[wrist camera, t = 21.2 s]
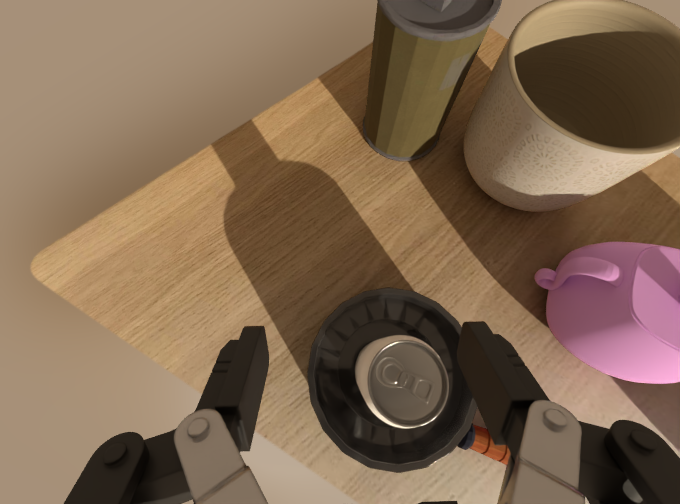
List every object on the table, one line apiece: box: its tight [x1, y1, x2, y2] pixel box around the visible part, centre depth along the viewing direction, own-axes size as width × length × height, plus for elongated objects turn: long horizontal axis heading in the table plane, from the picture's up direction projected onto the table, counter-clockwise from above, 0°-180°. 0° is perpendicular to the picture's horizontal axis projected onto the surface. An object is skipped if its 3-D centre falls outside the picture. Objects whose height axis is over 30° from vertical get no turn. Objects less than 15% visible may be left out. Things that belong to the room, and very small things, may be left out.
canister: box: [363, 0, 502, 161], centre depth 33 cm, size 11×10×20 cm
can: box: [355, 335, 449, 428], centre depth 28 cm, size 6×6×12 cm
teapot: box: [535, 242, 680, 384], centre depth 30 cm, size 20×13×12 cm, turn 65°
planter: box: [464, 0, 680, 212], centre depth 34 cm, size 17×17×15 cm
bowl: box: [307, 288, 477, 473], centre depth 31 cm, size 15×15×6 cm
